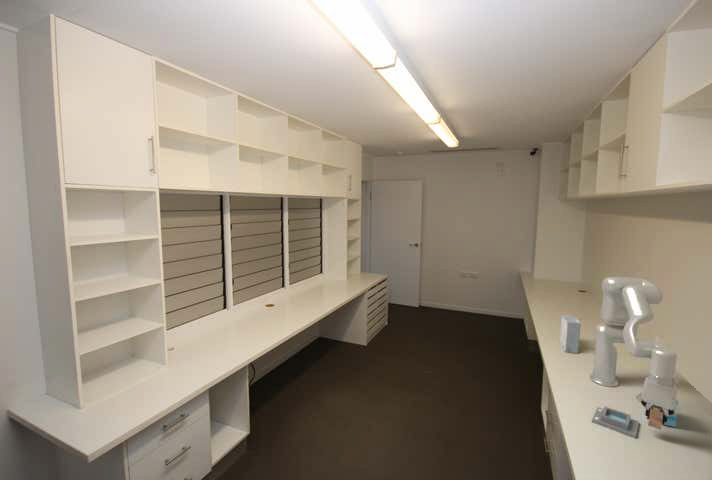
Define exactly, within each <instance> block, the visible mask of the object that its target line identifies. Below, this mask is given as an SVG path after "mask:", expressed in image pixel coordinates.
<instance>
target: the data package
mask: <svg viewBox="0 0 712 480" xmlns="http://www.w3.org/2000/svg"><path fill="white" fill-rule="evenodd" d="M676 403H677V405H678V406H679V401H678V399H676ZM662 409H664V408H662ZM674 409H675V408H674ZM663 413H664V412H663ZM678 414H679V413H674V414H672V415H669V416H668V417H667V423H666V422H664V425H663V424H662V426H668V427H672V428H676V427H677V421H678Z"/></svg>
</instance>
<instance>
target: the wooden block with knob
mask: <svg viewBox="0 0 712 480" xmlns="http://www.w3.org/2000/svg"><path fill="white" fill-rule="evenodd" d="M663 412H664V409H662V407H659V406H656V405H652V404H651V405H650V415H649V420H648V423H647V424H648V425H647V426H649V427H652V428H655V429H657V430H660V431H661V430H662V428H663V427H662V426H663V425H662V420H663Z"/></svg>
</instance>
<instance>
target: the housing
mask: <svg viewBox="0 0 712 480" xmlns="http://www.w3.org/2000/svg"><path fill="white" fill-rule="evenodd" d="M591 423H594V424H596V425H598V426H601V427H604V428H606V427H607V428H606V429H609V428H610V429H609V430H612V431H614V430H615V432H618V433H620V434H622V435H625V436H628V437H631V438H633V439H637V435H638V429H639V425H640V421H639V420H636V419H632V415H631V414H629V413H626V412H624V411H621V410H617V409H615V408H614V409H613V408H611V407H608V406H604V408H601V407H596V410H595V413H594V414H593V416H592V419H591Z"/></svg>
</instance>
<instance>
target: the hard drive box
mask: <svg viewBox="0 0 712 480" xmlns="http://www.w3.org/2000/svg"><path fill="white" fill-rule="evenodd" d="M581 325H582V324H581V322H580V321H579V320H578V319H577V317H575V315H567V314H564V315H563V314H562V315H561V321H560V334H559V344H560V346H561V347H562V349H563V351H564V352H565V353H572V354H579V346H580V337H581Z"/></svg>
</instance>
